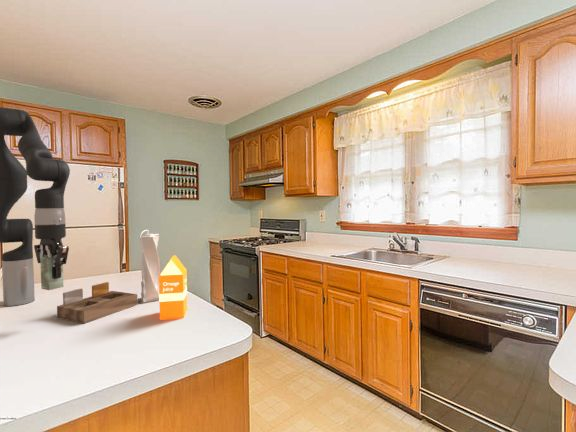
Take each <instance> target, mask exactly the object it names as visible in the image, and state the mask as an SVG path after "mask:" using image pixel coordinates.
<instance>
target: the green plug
mask: <svg viewBox="0 0 576 432" xmlns="http://www.w3.org/2000/svg"><path fill="white" fill-rule="evenodd" d="M55 256H57V255H55ZM62 260H63V258H62ZM55 262H56V259H55ZM39 264H40V283H41V284H40V286H41V287H40V288H41V290H46V291H53V290H56V289H60V288H64V264H63V265H62V266H61V278H58V279H53V278H52V264H51V260H50V259H49V257H48V256H44V257H40V263H39Z"/></svg>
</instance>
